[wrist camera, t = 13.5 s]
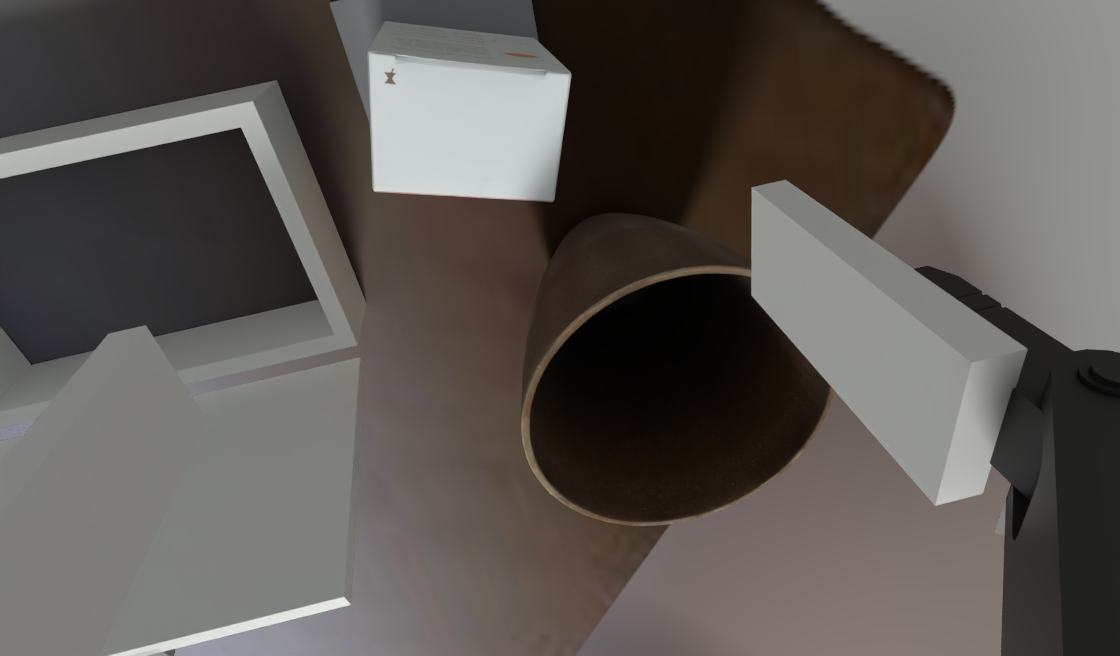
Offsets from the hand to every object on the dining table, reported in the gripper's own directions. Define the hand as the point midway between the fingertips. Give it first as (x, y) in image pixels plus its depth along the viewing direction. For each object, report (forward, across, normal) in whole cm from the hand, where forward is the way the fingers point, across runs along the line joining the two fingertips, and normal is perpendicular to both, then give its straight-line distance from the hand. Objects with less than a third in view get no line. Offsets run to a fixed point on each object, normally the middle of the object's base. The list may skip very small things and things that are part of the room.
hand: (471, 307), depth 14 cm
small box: (+24, 0, 0) cm, 24 cm away
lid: (+12, -20, -14) cm, 27 cm away
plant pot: (+25, +7, -13) cm, 29 cm away
